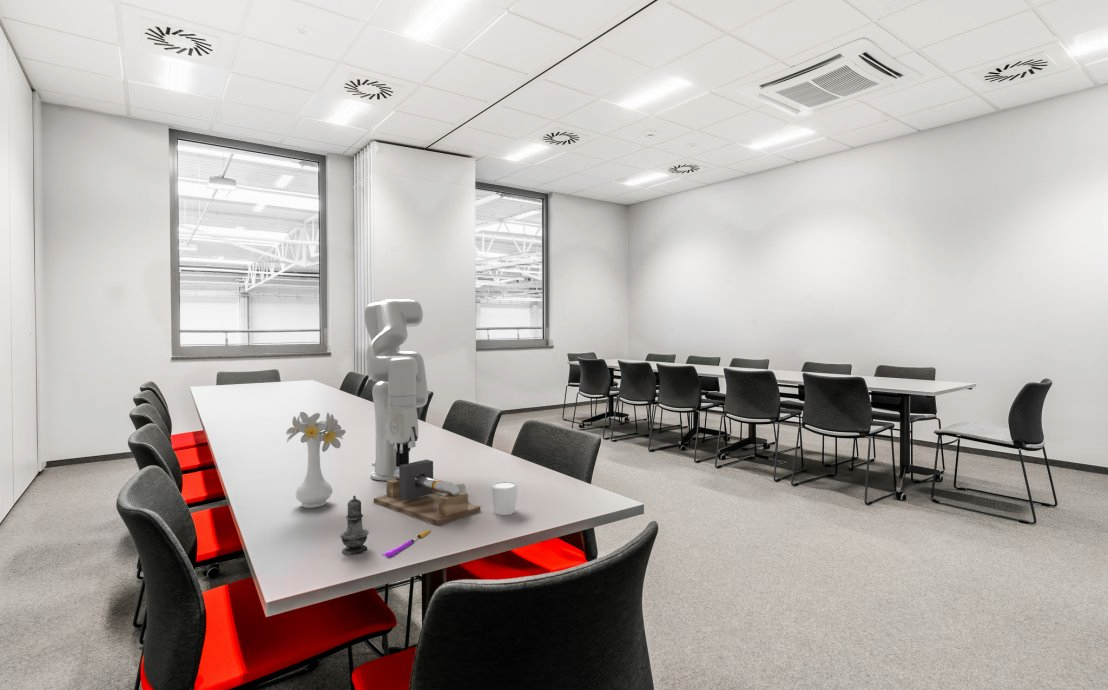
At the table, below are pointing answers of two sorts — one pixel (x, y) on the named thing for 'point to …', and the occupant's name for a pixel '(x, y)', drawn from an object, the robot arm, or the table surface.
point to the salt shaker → (354, 530)
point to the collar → (408, 479)
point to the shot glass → (504, 497)
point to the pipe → (434, 484)
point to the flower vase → (315, 456)
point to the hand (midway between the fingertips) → (402, 466)
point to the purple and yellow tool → (404, 545)
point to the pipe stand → (428, 505)
